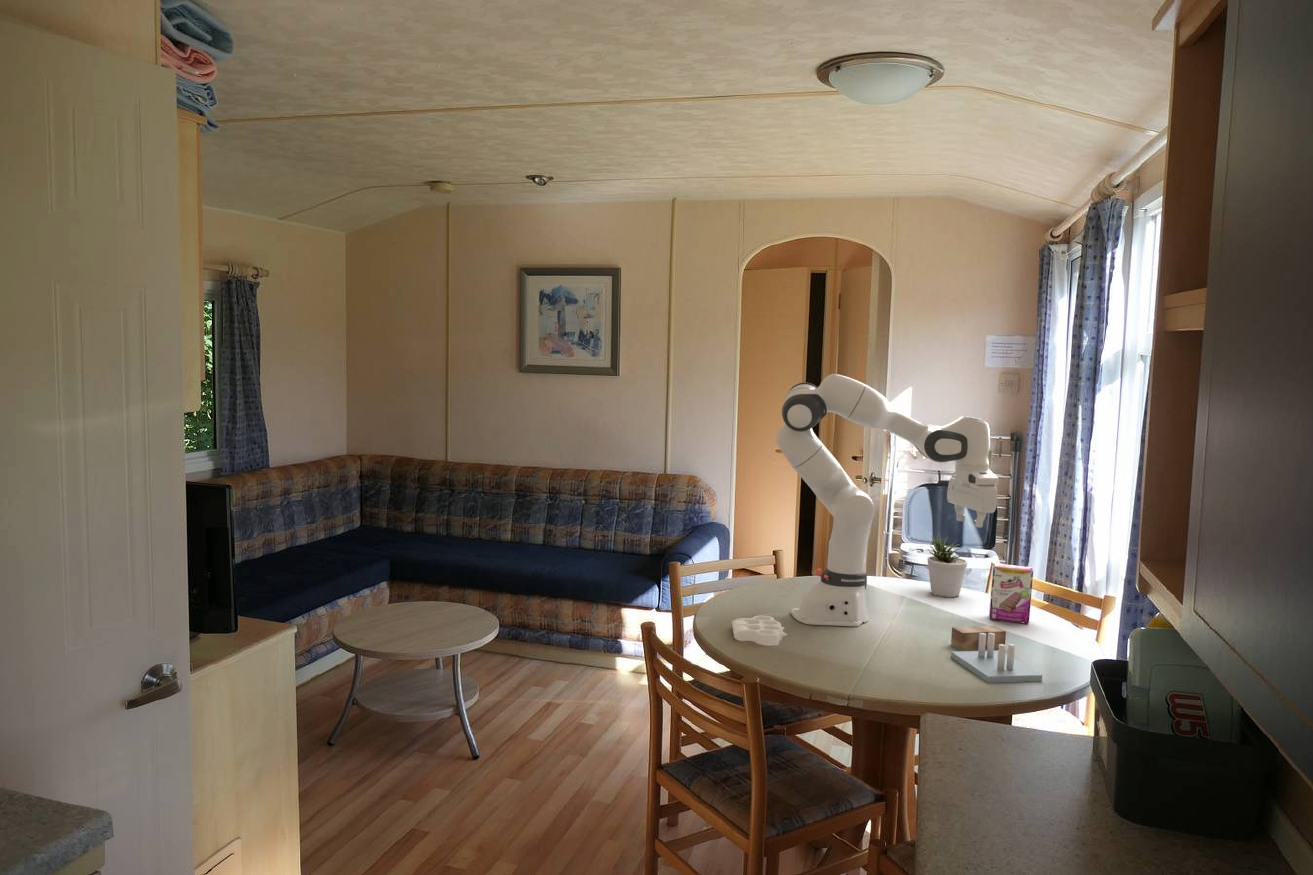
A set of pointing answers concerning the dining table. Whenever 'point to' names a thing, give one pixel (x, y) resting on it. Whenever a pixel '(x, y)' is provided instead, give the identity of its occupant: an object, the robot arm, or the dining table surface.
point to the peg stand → (995, 662)
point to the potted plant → (945, 570)
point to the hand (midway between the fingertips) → (969, 523)
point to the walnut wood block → (976, 636)
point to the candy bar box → (1011, 593)
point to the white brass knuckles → (758, 630)
